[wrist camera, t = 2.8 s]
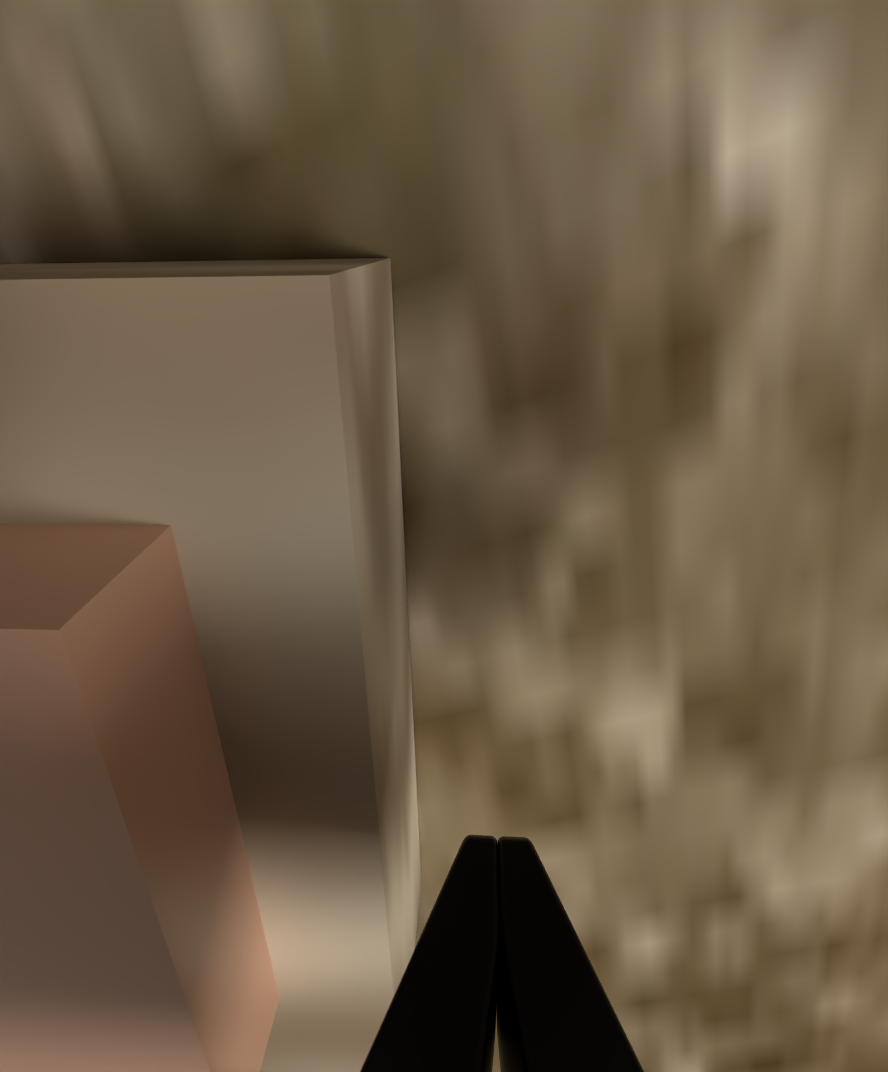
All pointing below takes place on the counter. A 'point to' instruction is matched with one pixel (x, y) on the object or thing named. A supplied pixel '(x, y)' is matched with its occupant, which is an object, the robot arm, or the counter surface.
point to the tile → (117, 820)
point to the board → (255, 571)
